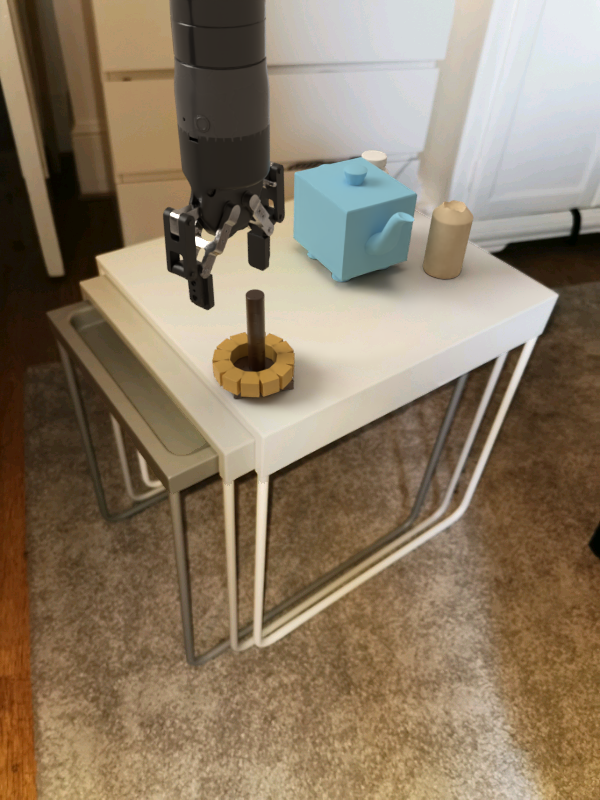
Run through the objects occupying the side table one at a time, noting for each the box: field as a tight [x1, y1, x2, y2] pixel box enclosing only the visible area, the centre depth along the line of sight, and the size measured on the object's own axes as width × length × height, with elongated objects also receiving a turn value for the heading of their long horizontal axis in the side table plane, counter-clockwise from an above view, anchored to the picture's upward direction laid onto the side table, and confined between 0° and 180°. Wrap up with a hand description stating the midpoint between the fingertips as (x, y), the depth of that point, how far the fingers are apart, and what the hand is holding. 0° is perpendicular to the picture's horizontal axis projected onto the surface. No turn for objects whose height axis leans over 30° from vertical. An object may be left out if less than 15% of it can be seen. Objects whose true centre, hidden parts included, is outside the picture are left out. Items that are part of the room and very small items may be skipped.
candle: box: [422, 199, 474, 280], centre depth 89 cm, size 6×6×10 cm
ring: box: [211, 331, 296, 398], centre depth 73 cm, size 9×9×2 cm
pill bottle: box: [360, 149, 390, 175], centre depth 102 cm, size 5×5×9 cm
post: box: [231, 288, 295, 400], centre depth 71 cm, size 7×7×11 cm
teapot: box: [292, 156, 418, 283], centre depth 88 cm, size 22×11×14 cm, turn 30°
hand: (232, 285), depth 63 cm, fingers open, 8 cm apart
